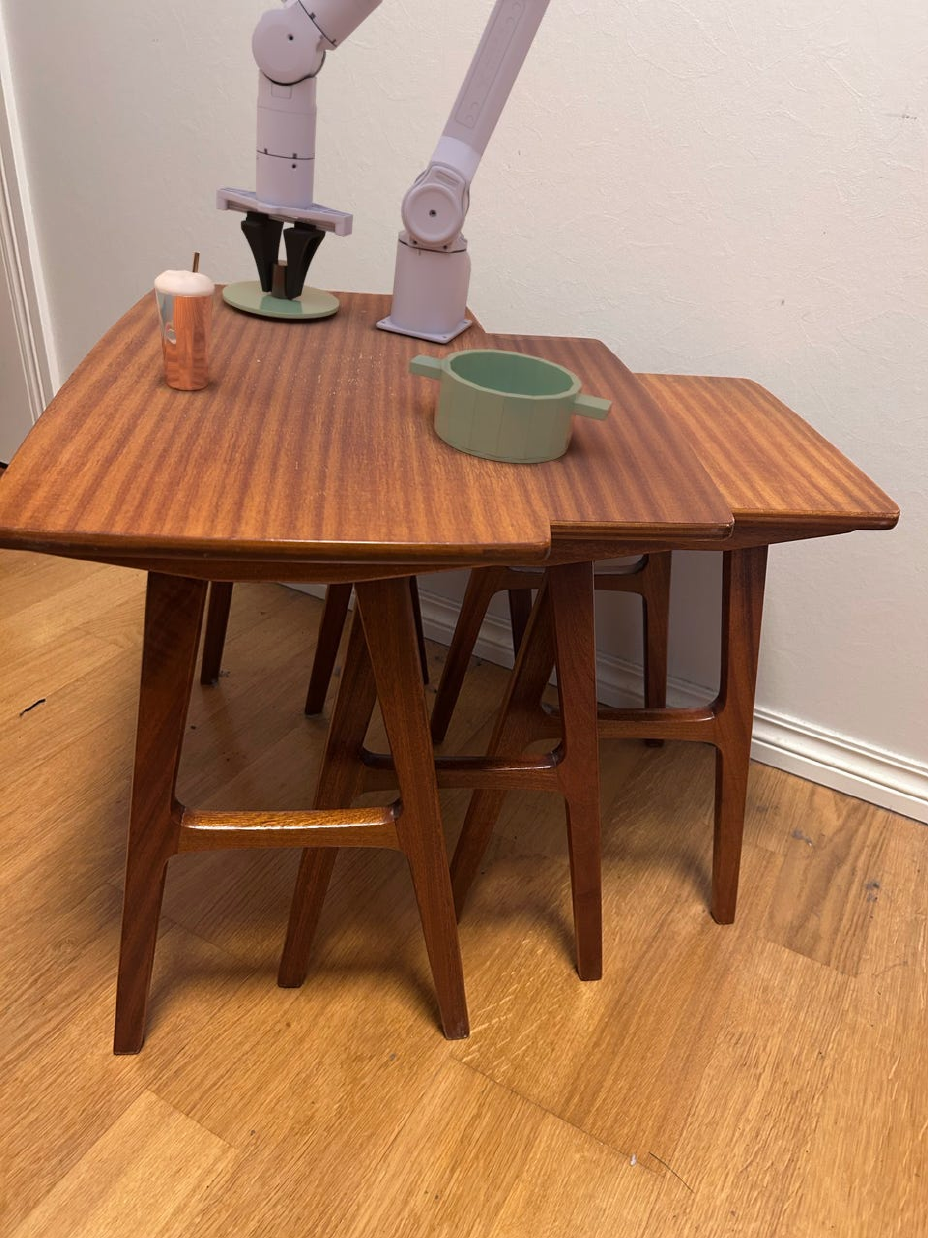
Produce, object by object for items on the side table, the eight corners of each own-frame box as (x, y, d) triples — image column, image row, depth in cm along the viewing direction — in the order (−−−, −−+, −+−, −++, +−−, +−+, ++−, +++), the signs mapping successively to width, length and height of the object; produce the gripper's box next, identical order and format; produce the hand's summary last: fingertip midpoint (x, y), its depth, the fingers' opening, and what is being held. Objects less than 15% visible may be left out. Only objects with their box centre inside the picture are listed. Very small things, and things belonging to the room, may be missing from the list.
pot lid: (258, 283, 106) (258, 241, 103) (356, 307, 103) (360, 264, 101) (199, 305, 96) (198, 259, 93) (307, 332, 93) (309, 285, 91)
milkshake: (225, 376, 80) (225, 256, 74) (204, 397, 75) (202, 270, 70) (173, 367, 80) (169, 246, 74) (149, 387, 75) (143, 260, 70)
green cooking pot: (430, 392, 84) (438, 333, 81) (610, 437, 80) (624, 377, 77) (383, 431, 74) (389, 366, 71) (583, 484, 71) (598, 418, 68)
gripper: (199, 142, 89) (201, 285, 97) (335, 170, 87) (326, 315, 94) (236, 138, 95) (235, 273, 103) (365, 165, 93) (354, 301, 100)
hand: (281, 293), depth 99 cm, fingers closed on pot lid, 2 cm apart
